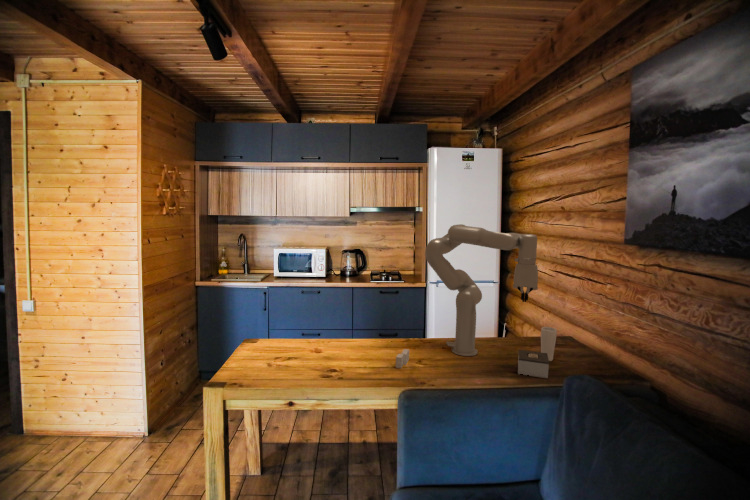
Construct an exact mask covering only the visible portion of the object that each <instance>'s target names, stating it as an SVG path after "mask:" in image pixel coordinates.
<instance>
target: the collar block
mask: <svg viewBox="0 0 750 500" xmlns="http://www.w3.org/2000/svg"><path fill="white" fill-rule="evenodd" d="M528 354H537V355H538V358H532V357H528ZM517 359H518V360H517V375H520V374H523V375H522V376H527V375H529V377H536V378H542V379H549V368H550V365H549V364H550V361H549V360H548V355H547V353H541V351H532V350H524V349H518V357H517Z"/></svg>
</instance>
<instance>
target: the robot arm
mask: <svg viewBox="0 0 750 500" xmlns="http://www.w3.org/2000/svg"><path fill="white" fill-rule="evenodd" d="M462 244H467V245H473V246H479V247H482V248H483V247H484V248H489V249H490V248H491V249H495V250H503V251H511V250H514V249H518V257H516V258H514V262H517V263H516V264H515V268H514V275H513V284H512V288H513V289H516V290H518V291H519V292H520V300H521V301H522V303H527V301H528V300H529V294H530V293H531V292H532V291H536V290H537V291H538V289H539V288H538V282H539V277H538V276H539V269H538V264H537V263H536V262H537V250H538V249H537V248H538V236H537V234H531V233H518V232H506V233H505V232H497V231H492V230H491V231H490V230H488V229H485V228H483V227H476V226H470V225H469V226H468V225H465V224H454V225H451V226H450V227H449V229H448V230H447V233H446V234H445V235H444V236H442V237H436V238H434V239H431V240H430V241H429V242H428V243H427V244H426V247H425V251H424V253H425V254H424V255H425V259H426V261H427V263H428V264H429V266H430V267H431V269H432V270H434V271H433V272H435V273H436V275H437V276H438V278H439V279H440V280H441V281H442V282H443V284H444V286H445V287H446V288H447V289H448V290H450V291H457V295H456V297H455V308H456V314H455V316H456V317H455V320H456V321H455V336H454V338H455V340H454V341H448V340H446V343H445V345H446V346H447V347H449V348H450V347H451V352H452V353H453V354H455V355H457V356H463V357H474V356H476V355H478V349H477V348H475V347H476V345H475V344H476V330H477V329H476V328H477V309H476V308H477V305H478V304H479V303H480V302H481V301H482V299H483V294H482V290H481V289H480V288H479V286H478V285H477V284H476V283H475V281H474V280H473V279H472V278H471V276H470V275H469V274H468V273H467V272H466V271H464V270H462V269H460V268H459V269H455V267H454V266H453V265H452V264H451V262H450V261H449V260H448V259H446V258H445V257H444V255H445V254H448V253H450V252H452V251H453V250H455V249H456V248H457V247H459V246H460V245H462ZM524 288H526V290H524Z"/></svg>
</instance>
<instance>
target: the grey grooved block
mask: <svg viewBox="0 0 750 500" xmlns="http://www.w3.org/2000/svg"><path fill="white" fill-rule="evenodd" d="M409 360H410V349H409V348H404V349H403V350H402V351H401V353H398V354H397V355H396V356H395V368H396V369H402V368H403V366H406V365H407V364H408V362H409Z"/></svg>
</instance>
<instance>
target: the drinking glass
mask: <svg viewBox="0 0 750 500" xmlns="http://www.w3.org/2000/svg"><path fill="white" fill-rule="evenodd" d="M557 335H558V334H557V328H553V327H550V326H543V327H541V329H540V352H541V353H547V355H548V360H549V362H552V361H553V360H554V353H555V348H556V341H557Z"/></svg>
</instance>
